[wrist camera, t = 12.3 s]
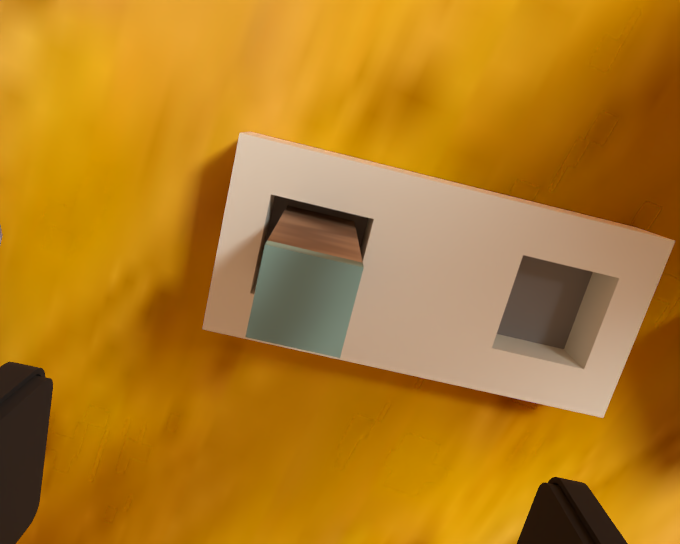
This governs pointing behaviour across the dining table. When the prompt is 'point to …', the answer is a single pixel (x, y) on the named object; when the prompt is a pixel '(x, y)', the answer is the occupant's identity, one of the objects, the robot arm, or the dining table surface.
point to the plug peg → (307, 283)
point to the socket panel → (450, 275)
